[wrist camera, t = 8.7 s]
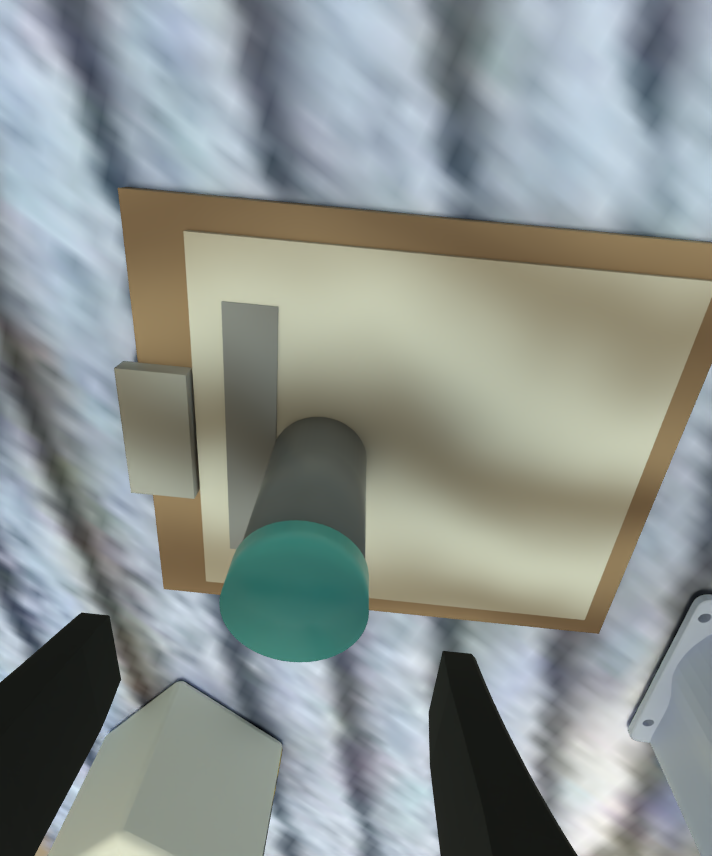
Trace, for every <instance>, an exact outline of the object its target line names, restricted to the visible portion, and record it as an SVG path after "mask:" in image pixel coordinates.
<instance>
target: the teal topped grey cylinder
mask: <svg viewBox="0 0 712 856" xmlns="http://www.w3.org/2000/svg"><path fill="white" fill-rule="evenodd" d="M366 464H367V458H366V451H365V447H364V445H363V442H362V441H361V439H360V437H359V436H358V435H357V434H356V433H355V432H354V431H353V430H352V429H351V428H350V427H348V426H347V425H345V424H344V423H342V422H340V421H337V420H334V419H331V418H326V417H309V418H304V419H301V420H298V421H296V422H294V423H292V424H291V425H289V426H288V427H287V428H286V429H284V430H283V432H282V433H281V434H280V435H279V437H278V438H277V440H276V443H275V445H274V448H273V451H272V454H271V457H270V460H269V463H268V466H267V469H266V472H265V475H264V478H263V481H262V484H261V487H260V490H259V493H258V496H257V499H256V502H255V505H254V508H253V511H252V514H251V517H250V520H249V523H248V526H247V529H246V532H245V535H244V538H243V541H242V542H241V543H240V545H239V546H238V548H237V549H236V551H235V554H234V556H233V559H232V562H231V565H230V567H229V570H228V573H227V576H226V579H225V582H224V585H223V588H222V591H221V595H220V612H221V616H222V619H223V621H224V623H225V625H226V627H227V628H228V630H229V631H230V632H231V633H232V635H233V636H234V637H235V638H236V639H237V640H238V641H240V642H241V643H242V644H243V645H245V646H246V647H248V648H249V649H251V650H253V651H255V652H257V653H259V654H261V655H264V656H267V657H270V658H273V659H277V660H281V661H289V662H311V661H318V660H322V659H327V658H329V657H332V656H335V655H337V654H339V653H341V652H343V651H345V650H346V649H348V648H349V647H350V646H352V645H353V644H354V643H355V642H356V641H357V640H358V639H359V638H360V636H361V635H362V633H363V632H364V630H365V627H366V625H367V621H368V615H369V572H368V566H367V563H366V560H365V542H366Z"/></svg>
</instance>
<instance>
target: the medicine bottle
mask: <svg viewBox="0 0 712 856" xmlns="http://www.w3.org/2000/svg"><path fill="white" fill-rule="evenodd" d="M281 755H282V744H281V743H280V742H279V741H278V740H276V739H275V738H273V737H271V736H270V735H268V734H267V733H265V732H263V731H262V730H260V729H259V728H257V727H256V726H254V725H252V724H251V723H249V722H248V721H246V720H244V719H243V718H241V717H240V716H238V715H236V714H235V713H233V712H232V711H230V710H229V709H227V708H225V707H224V706H222V705H221V704H219V703H217V702H216V701H214V700H213V699H211V698H209V697H208V696H206V695H205V694H203V693H201V692H200V691H198V690H197V689H195V688H194V687H192V686H190V685H189V684H187V683H186V682H184V681H178V682H176V683H175V684H173V685H172V686H171V687H169V688H168V689H167V690H165V691H164V692H163V693H161V694H160V695H159V696H157V697H156V698H155V699H154V700H152V701H151V702H150V703H148V704H147V705H146V706H144V707H143V708H142V709H140V710H139V711H138V712H136V713H135V714H134V715H132V716H131V717H130V718H129V719H127V720H126V721H125V722H123V723H122V724H121V725H119V726H118V727H117V728H115V729H114V730H113V731H111V732H110V733H109V734H108V735H107V736H106V737H105V739H104V741H103V743H102V745H101V747H100V750H99V752H98V754H97V756H96V758H95V760H94V762H93V764H92V766H91V768H90V770H89V772H88V774H87V776H86V778H85V780H84V782H83V784H82V786H81V788H80V790H79V792H78V795H77V797H76V799H75V801H74V803H73V805H72V807H71V809H70V811H69V813H68V815H67V817H66V819H65V821H64V823H63V825H62V827H61V829H60V831H59V833H58V835H57V837H56V840H55V842H54V844H53V846H52V848H51V850H50V852H49V854H48V856H264V850H265V845H266V839H267V833H268V828H269V822H270V817H271V811H272V805H273V800H274V794H275V789H276V783H277V777H278V772H279V766H280V761H281Z"/></svg>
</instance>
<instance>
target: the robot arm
mask: <svg viewBox="0 0 712 856" xmlns="http://www.w3.org/2000/svg"><path fill="white" fill-rule="evenodd" d="M120 681H121V677H120V671H119V666H118V660H117V655H116V649H115V644H114V638H113V633H112V627H111V622H110V616H108V615H99V614H89V613H80V614H79V615H78V616H77V617H75V618H74V619H73V620H72V621H71V622H70V623H68V624H67V625H66V626H65V627H64V628H63V629H62V630H60V631H59V632H58V633H57V634H56V635H55V636H54V637H52V638H51V639H50V640H49V641H48V642H47V643H46V644H44V645H43V646H42V647H41V648H40V649H39V650H38V651H36V652H35V653H34V654H33V655H32V656H31V657H30V658H28V659H27V660H26V661H25V662H24V663H23V664H21V665H20V666H19V667H18V668H17V669H16V670H14V671H13V672H12V673H11V674H10V675H8V676H7V677H6V678H5V679H4V680H3V681H1V682H0V856H35V853H36V852H37V850H38V848H39V846H40V844H41V842H42V840H43V838H44V836H45V834H46V833H47V831H48V829H49V827H50V825H51V823H52V821H53V819H54V818H55V816H56V814H57V812H58V810H59V808H60V806H61V804H62V803H63V801H64V799H65V797H66V795H67V793H68V791H69V789H70V788H71V786H72V784H73V782H74V780H75V778H76V776H77V774H78V773H79V771H80V769H81V767H82V765H83V763H84V761H85V759H86V757H87V755H88V754H89V752H90V750H91V748H92V746H93V744H94V742H95V740H96V738H97V736H98V734H99V732H100V730H101V728H102V726H103V723H104V721H105V719H106V716H107V714H108V711H109V709H110V707H111V704H112V701H113V699H114V696H115V694H116V691H117V688H118V686H119V683H120ZM628 732H629V734H630V737H631V739H633V740H635V741H639V742H649V743H651V746H652V748H653V750H654V752H655V755H656V757H657V759H658V761H659V763H660V766H661V768H662V770H663V772H664V775H665V777H666V779H667V781H668V783H669V786H670V788H671V790H672V792H673V795H674V797H675V799H676V801H677V804H678V806H679V808H680V810H681V812H682V815H683V817H684V819H685V821H686V824H687V826H688V828H689V830H690V832H691V835H692V837H693V839H694V841H695V844H696V846H697V848H698V850H699V853H700V855H701V856H712V595H711V594H706V595H701V596H699V597H697V598H696V599H695V600H694V601H693V603H692V605H691V607H690V609H689V611H688V613H687V615H686V617H685V619H684V621H683V622H682V624H681V626H680V628H679V630H678V632H677V634H676V636H675V638H674V640H673V642H672V644H671V646H670V648H669V650H668V652H667V654H666V655H665V657H664V659H663V661H662V663H661V665H660V667H659V669H658V671H657V673H656V675H655V677H654V679H653V681H652V683H651V685H650V687H649V689H648V690H647V692H646V694H645V696H644V698H643V700H642V702H641V704H640V706H639V708H638V710H637V712H636V714H635V716H634V718H633V720H632V722H631V723H630V725H629V727H628ZM429 747H430V769H431V778H432V787H433V795H434V804H435V812H436V821H437V829H438V837H439V845H440V854H441V856H577V854H576V852H575V851H574V849H573V848H572V846H571V844H570V843H569V841H568V840H567V838H566V836H565V835H564V833H563V831H562V830H561V828H560V826H559V825H558V823H557V821H556V820H555V818H554V816H553V815H552V813H551V811H550V809H549V808H548V806H547V804H546V803H545V801H544V799H543V797H542V796H541V794H540V792H539V790H538V789H537V787H536V785H535V783H534V781H533V779H532V778H531V776H530V774H529V772H528V770H527V768H526V766H525V765H524V763H523V761H522V759H521V757H520V755H519V753H518V751H517V749H516V747H515V745H514V743H513V741H512V739H511V737H510V735H509V733H508V731H507V729H506V727H505V725H504V723H503V721H502V719H501V717H500V715H499V712H498V710H497V708H496V706H495V704H494V702H493V700H492V697H491V695H490V693H489V690H488V688H487V686H486V683H485V681H484V679H483V676H482V674H481V671H480V669H479V666H478V664H477V661H476V659H475V657H474V656H473V655H472V654H467V653H458V652H448V651H443V653H442V657H441V661H440V666H439V670H438V674H437V679H436V683H435V687H434V692H433V696H432V701H431V705H430V709H429Z"/></svg>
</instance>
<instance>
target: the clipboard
mask: <svg viewBox="0 0 712 856" xmlns="http://www.w3.org/2000/svg"><path fill="white" fill-rule="evenodd" d="M118 193H119V202H120V211H121V219H122V228H123V237H124V246H125V254H126V263H127V272H128V281H129V289H130V298H131V307H132V315H133V324H134V333H135V342H136V350H137V359H138V362H128V361H123V362H122V363H120V364H119V365H118V366H116V367H115V368H114V371H115V378H116V386H117V393H118V400H119V407H120V415H121V422H122V429H123V437H124V444H125V451H126V458H127V466H128V473H129V480H130V488H131V493H141V494H151V495H153V499H154V507H155V516H156V525H157V534H158V542H159V551H160V560H161V569H162V577H163V586H164V589H169V590H179V591H189V592H198V593H208V594H218V595H221V591H222V588H223V585H224V582H225V579H226V576H227V573H228V570H229V567H230V565H231V562H232V559H233V556H234V554H235V551H236V549H237V548H238V546H239V545H240V543H241V542H242V541H243V538H244V535H245V532H246V529H247V526H248V523H249V520H250V517H251V514H252V511H253V508H254V505H255V502H256V499H257V496H258V493H259V490H260V487H261V484H262V481H263V478H264V475H265V472H266V469H267V466H268V463H269V460H270V457H271V454H272V451H273V448H274V445H275V443H276V440H277V438H278V437H279V435H280V434H281V433H282V432H283V430H284V429H286V428H287V427H288V426H289V425H291V424H292V423H294V422H296V421H298V420H301V419H304V418H309V417H326V418H331V419H334V420H337V421H340V422H342V423H344V424H345V425H347V426H348V427H350V428H351V429H352V430H353V431H354V432H355V433H356V434H357V435H358V436H359V437H360V439H361V441H362V442H363V445H364V447H365V451H366V458H367V464H366V542H365V560H366V563H367V566H368V572H369V610H374V611H383V612H393V613H403V614H412V615H422V616H432V617H442V618H451V619H461V620H471V621H481V622H490V623H500V624H510V625H520V626H529V627H539V628H549V629H559V630H568V631H578V632H588V633H597V634H599V632H600V630H601V627H602V625H603V622H604V620H605V618H606V615H607V613H608V610H609V608H610V606H611V603H612V601H613V598H614V596H615V594H616V591H617V589H618V587H619V584H620V582H621V579H622V577H623V575H624V572H625V570H626V567H627V565H628V563H629V560H630V558H631V555H632V553H633V551H634V548H635V546H636V544H637V541H638V539H639V536H640V534H641V532H642V529H643V527H644V524H645V522H646V520H647V517H648V515H649V512H650V510H651V508H652V505H653V503H654V500H655V498H656V496H657V493H658V491H659V489H660V486H661V484H662V481H663V479H664V477H665V474H666V472H667V469H668V467H669V465H670V462H671V460H672V457H673V455H674V453H675V450H676V448H677V445H678V443H679V441H680V438H681V436H682V434H683V431H684V429H685V426H686V424H687V422H688V419H689V417H690V414H691V412H692V410H693V407H694V405H695V402H696V400H697V398H698V395H699V393H700V390H701V388H702V386H703V383H704V381H705V379H706V376H707V374H708V371H709V369H710V367H711V364H712V242H703V241H692V240H682V239H671V238H661V237H650V236H640V235H629V234H618V233H608V232H597V231H587V230H576V229H566V228H555V227H544V226H534V225H523V224H513V223H502V222H491V221H481V220H470V219H460V218H449V217H439V216H428V215H417V214H407V213H396V212H386V211H375V210H364V209H354V208H343V207H333V206H322V205H312V204H301V203H290V202H280V201H269V200H259V199H248V198H238V197H227V196H216V195H206V194H195V193H185V192H174V191H163V190H153V189H142V188H132V187H122V188H118Z"/></svg>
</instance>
